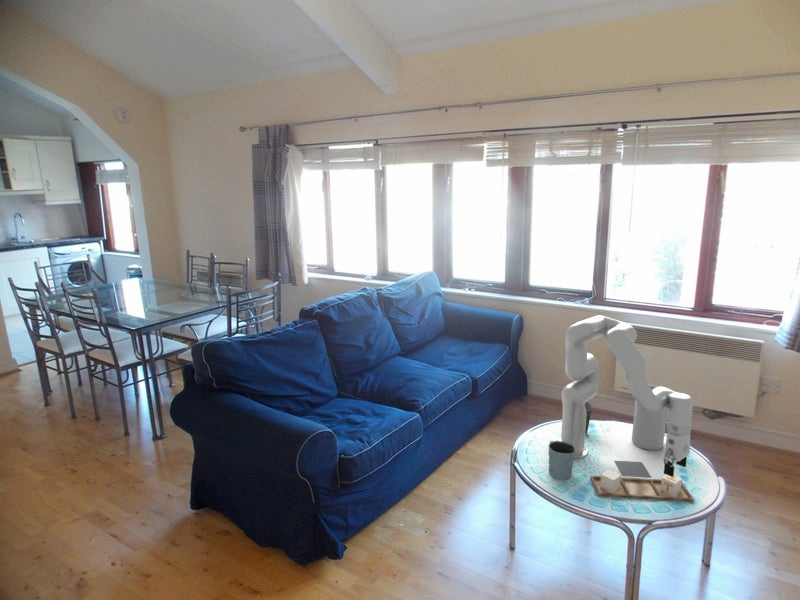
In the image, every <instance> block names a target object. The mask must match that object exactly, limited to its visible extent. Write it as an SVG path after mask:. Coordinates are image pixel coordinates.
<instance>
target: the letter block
mask: <svg viewBox="0 0 800 600" xmlns="http://www.w3.org/2000/svg"><path fill="white" fill-rule="evenodd" d="M661 480H662V481H661V490H660V491H662V492H665V493H667V494H669V495H671V496H673V497H675V496H676V495H677V494H678V493H680V492H681V484H682V483H683V478H681V477H679V476H677V475H675V474H674V476H673V477H671V476H669V475H666V474H664V475H663V476H662V477H661Z"/></svg>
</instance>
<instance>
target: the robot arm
mask: <svg viewBox="0 0 800 600" xmlns="http://www.w3.org/2000/svg"><path fill="white" fill-rule="evenodd" d="M600 337H604V341H605V344H606V345H607V347H608V348H609V350H610V351H611V353H612V354H613V356H614V357H615V359H616V360H617V361H618V363H619V364H620V366H621V367H622V369H623V371H624V373H625V379H626V383H627V385H628V389H629V391H630V393H631V395H632V397H633V398H634V399H635V400H636V401H637V403H638V404H639V405H640V407H641V408H642V409H643V410H644V411H646V412H648V413H650V414H656V413H659V412H660V411H662V410H663V409H664V408H667V417H666V431H667V435H666V441H665V447H664V456H663V464H664V466H663V467H664V468H663V474H664V475H669V476H671V477H673V476H674V475H675V466H674V464H676V465H678V466H679V467H682V468H686V467H687V460H688V459H687V457H688V456H689V454H690V453H691V432H692V431H691V430H692V417H693V407H694V399H693V398H692V396H690V395H689V394H686V393H682V392H678V391H674V390H672V389H671V388H667V387H664V386H658V387H655V388H654V389H652V390H651V388H650V387H649V385H650V384H649V383H648V381H647V378H646V374H645V372H646V366H647V365H646V364H647V361H646V357H645V356H644V355H643V354H642V352H641V350H640V349H639V348H638V347H637V345H636V343H635V341H637V338H638V332H637V330H636V329H635V327H633V326H632V325H630V324H629V323H626V322H623V321H620V320H617V319H613V318H611V317H608V316H604V315H594V316H592V317H589V318H586V319H583V320H581V321H580V320H579V321H577V322H576V323H572V325H570V326H569V327H568V328H567V329H566V332H565V337H564V338H565V353H564V354H565V363H564V364H565V367H564V369H565V370H564V371H565V375H566V377H567V378H568V380H571V381H572V382H570V383H568V384H567V385H565V386H564V387H563V389H562V391H561V401H562V403H561V404H562V419H561V434H560V435H561V437H559V439H558V440H556V441H563V442H567V443H570V444H572V445H573V446H574V447H575V449H576V452H575V457H574V460H577V459H583V458H585V457H587V456H588V453H589V451H588V449H587V447H586V446H585V441H586V434H585V430H586V409H585V402H586V401H588V402H589V401H590V400H591V399H593V398H595V396H596V395H597V394H598V390H599V370H600V369H599V368H600V367H599V362H598V360H597V358H596V356H594V355H593V354H592V353H589V352H588V345H587V342H589V341H593V340H595V339H598V338H600ZM635 400H634V401H635ZM554 441H555V440H549V444H550V443H551V442H554ZM670 460H671V461H670ZM675 462H676V463H675Z"/></svg>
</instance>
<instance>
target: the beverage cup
mask: <svg viewBox="0 0 800 600" xmlns="http://www.w3.org/2000/svg"><path fill="white" fill-rule="evenodd" d="M585 409H586V430H585V435H586V434H588V430H589V425H590V421H591V419H590V418H591V415H592V412H593V407H592V405H591V403H590V402H589V400H588V401H586V402H585Z"/></svg>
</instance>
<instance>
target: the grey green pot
mask: <svg viewBox="0 0 800 600" xmlns="http://www.w3.org/2000/svg"><path fill="white" fill-rule="evenodd" d="M553 441H554V442H551V443H550V442H549V443H548V474H549V476H550V477H552V478H554V479H556V480H561V481H565V480H569V479H570V478H571V477H572V474H573V466H574V461H575V459H574V457H575V452H576V449H575V447H574V446H573V445H572V444H570V443H567V442H563V441H557V440H553Z"/></svg>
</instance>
